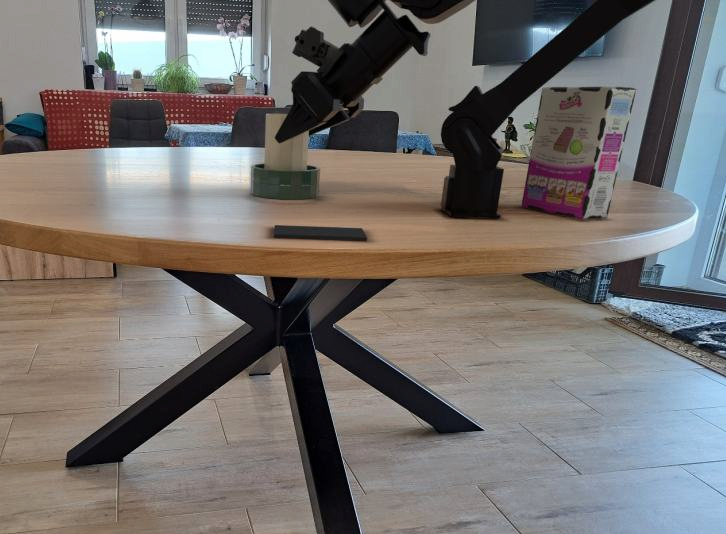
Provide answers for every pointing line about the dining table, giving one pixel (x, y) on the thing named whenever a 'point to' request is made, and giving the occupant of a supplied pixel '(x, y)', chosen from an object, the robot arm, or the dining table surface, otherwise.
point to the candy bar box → (577, 150)
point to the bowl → (285, 183)
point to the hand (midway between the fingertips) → (287, 138)
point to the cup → (284, 147)
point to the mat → (319, 233)
